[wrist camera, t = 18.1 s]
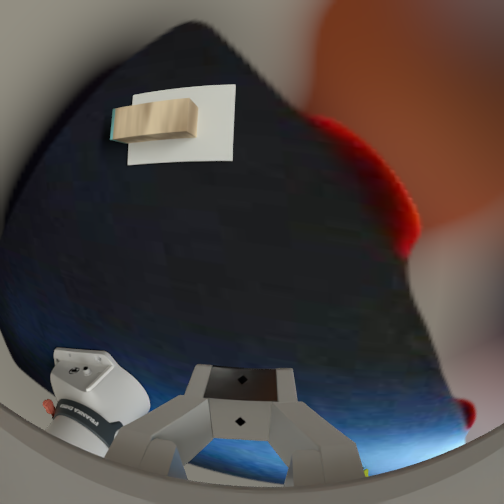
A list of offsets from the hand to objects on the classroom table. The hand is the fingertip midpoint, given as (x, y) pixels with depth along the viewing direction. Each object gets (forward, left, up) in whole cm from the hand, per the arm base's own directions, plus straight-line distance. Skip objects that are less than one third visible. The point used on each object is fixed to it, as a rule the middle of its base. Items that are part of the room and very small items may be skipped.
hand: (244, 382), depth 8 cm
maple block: (-9, +14, -23) cm, 29 cm away
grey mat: (-11, +14, -26) cm, 31 cm away
